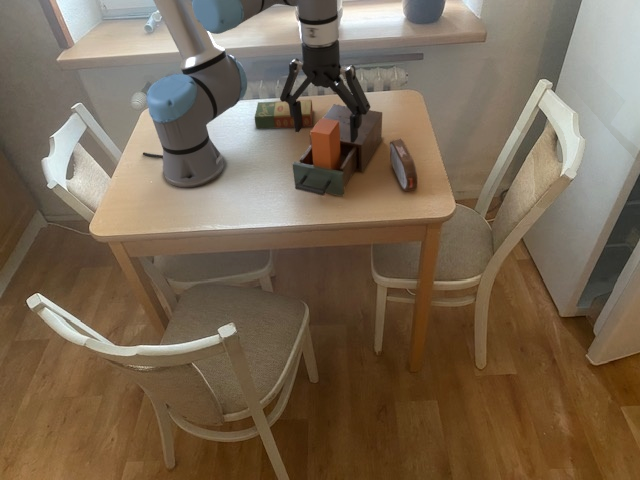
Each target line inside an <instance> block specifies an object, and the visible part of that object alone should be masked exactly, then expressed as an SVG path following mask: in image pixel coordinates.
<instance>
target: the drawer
mask: <svg viewBox="0 0 640 480" xmlns="http://www.w3.org/2000/svg"><path fill="white" fill-rule="evenodd" d="M306 149H307V150H305V151H304V153H303V155H302V156H301V157H300V159H299V161H293V163H292V175H293V182H294V189H295V190H298V191H301V192H305V193H310V194H314V195H320V196H324V197H325V195H326V194H330V195H333V196H339V197H344V195H345V187H346V186H347V184H348V182H349V180H350V179H351V178H352V176H353V174H354V173H355V172H356V171H355V169H356V167H357V166H358V164H359V147H355V146H350V145H345V144H340V155H341V167H340V170H339V171H337V170H332V169H327V168H323V167H318V166H314V165H313V154H312V144H311V145H310V144H309V146H308V148H306Z"/></svg>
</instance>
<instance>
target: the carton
mask: <svg viewBox="0 0 640 480" xmlns="http://www.w3.org/2000/svg"><path fill="white" fill-rule="evenodd" d="M297 101H301V110H302V119H303V128H304V127H312V125H313V114H314V113H313V111H314V109H313V100H312V99H297V100H296V102H297ZM254 124H255V128H256V129H257V130H261V129H262V130H263V129H266V130H267V129H282V128H283V129H285V128H295V125H294V117H291V116H290V109H289V105H288V103H287V102H285V101H284V102H282V101H281V100H278V101H260V102H259V101H258V102H257V105H256V110H255V114H254Z"/></svg>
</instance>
